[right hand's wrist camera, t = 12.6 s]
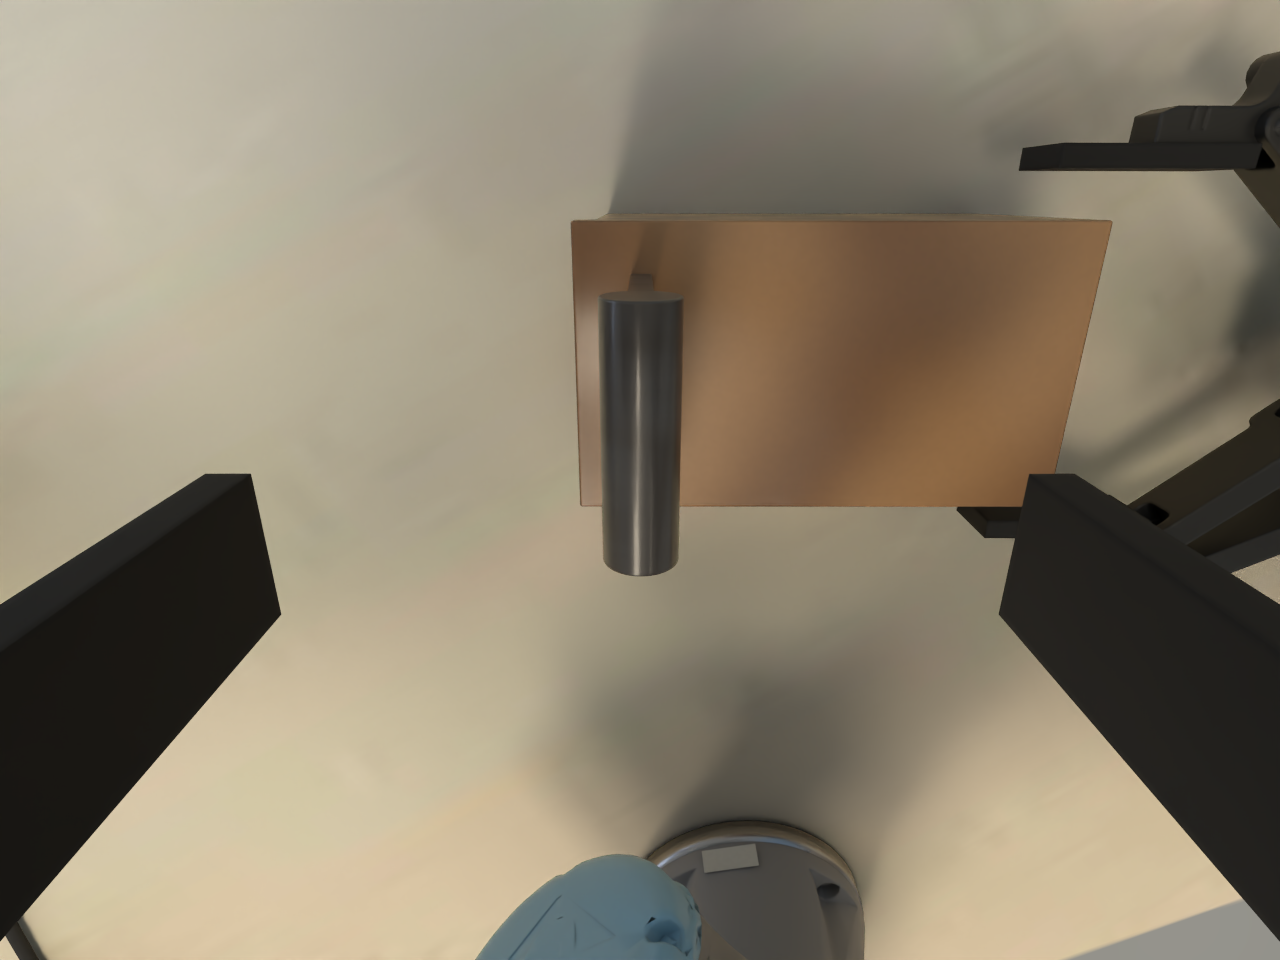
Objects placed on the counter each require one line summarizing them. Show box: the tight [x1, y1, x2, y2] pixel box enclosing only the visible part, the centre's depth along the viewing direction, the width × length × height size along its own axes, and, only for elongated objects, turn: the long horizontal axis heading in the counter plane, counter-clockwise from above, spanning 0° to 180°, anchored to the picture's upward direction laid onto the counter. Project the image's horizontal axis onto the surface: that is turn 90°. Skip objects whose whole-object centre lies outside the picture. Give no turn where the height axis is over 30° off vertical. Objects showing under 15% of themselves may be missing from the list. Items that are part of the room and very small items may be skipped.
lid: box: [571, 220, 1112, 576], centre depth 21 cm, size 17×10×9 cm, turn 90°
